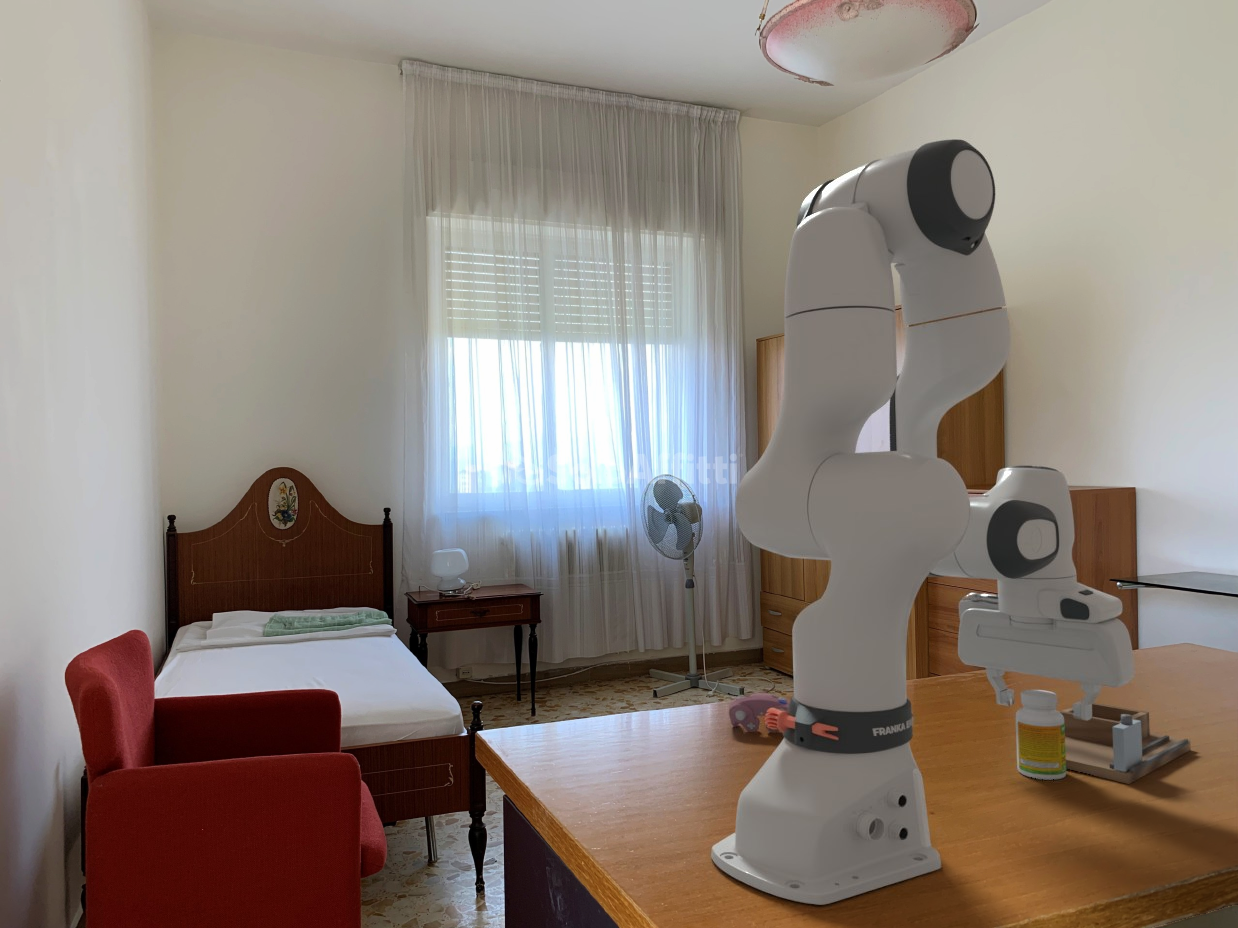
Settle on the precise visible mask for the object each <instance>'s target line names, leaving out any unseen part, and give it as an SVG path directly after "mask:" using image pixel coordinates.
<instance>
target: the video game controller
mask: <svg viewBox="0 0 1238 928" xmlns="http://www.w3.org/2000/svg"><path fill="white" fill-rule="evenodd" d="M789 703H790V700H789V699H788V697H787V696H784V695H782V696H781V695H780V696H779V697H778V696H776V695H773V694H771V693H770V694H769V693H765V692H755V693H751V694H749V695H746V696H745V695H744V694H738V696H737V697H736V698H734V699H733V700H732V701H731V703H730V705H729V707H728V715H729V721H730V723H731V726H732V727H734V728H737V727H738V726H739V725H741V726H742V727H743V728H744V730H745V731H747V732H748V733H755V732H757V731H758V730H759V729H760V723H761V721H760V718H759V717H760V716H761V717H765V714H767V713H768V712H767V710H768V709H770V708H776V709H778V710H780V711H788V707H789ZM765 722H768V721H765ZM767 726H768V725H766V724H765V729H766V731H767V732H769V733H770V734H778V733H780V732H781V731H780V730H779V729H771V728H768V727H767Z"/></svg>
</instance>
